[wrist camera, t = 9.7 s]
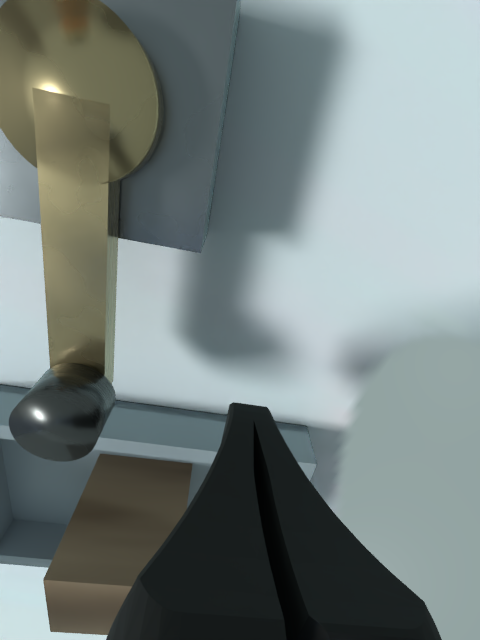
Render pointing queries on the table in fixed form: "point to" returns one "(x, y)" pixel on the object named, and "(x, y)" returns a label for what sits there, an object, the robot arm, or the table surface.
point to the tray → (72, 476)
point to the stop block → (112, 539)
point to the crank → (75, 195)
